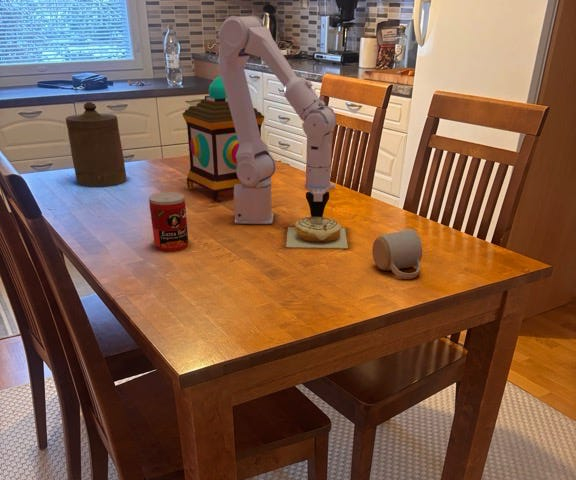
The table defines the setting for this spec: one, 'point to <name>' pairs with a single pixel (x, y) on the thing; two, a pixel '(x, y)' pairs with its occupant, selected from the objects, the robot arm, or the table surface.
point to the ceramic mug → (398, 252)
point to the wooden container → (96, 148)
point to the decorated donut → (318, 229)
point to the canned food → (169, 221)
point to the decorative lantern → (213, 142)
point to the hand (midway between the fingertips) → (316, 223)
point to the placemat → (298, 242)
